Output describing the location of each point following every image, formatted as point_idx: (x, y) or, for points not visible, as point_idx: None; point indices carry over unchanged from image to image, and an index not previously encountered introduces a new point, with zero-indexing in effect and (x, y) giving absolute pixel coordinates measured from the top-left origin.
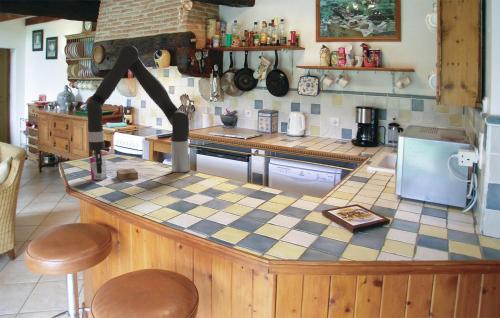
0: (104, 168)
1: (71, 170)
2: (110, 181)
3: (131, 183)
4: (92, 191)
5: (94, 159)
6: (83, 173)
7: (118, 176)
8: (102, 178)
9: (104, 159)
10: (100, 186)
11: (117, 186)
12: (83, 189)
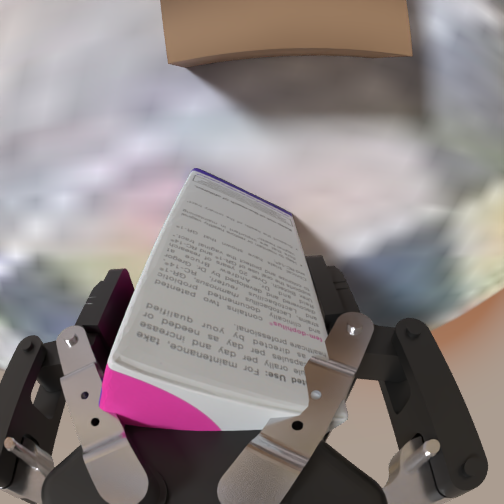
0: (229, 237)
1: (10, 354)
2: (350, 143)
3: (467, 14)
4: (486, 272)
5: None
6: (46, 321)
7: (298, 52)
8: (285, 215)
9: (184, 332)
10: (441, 231)
11: (493, 128)
12: (432, 314)
